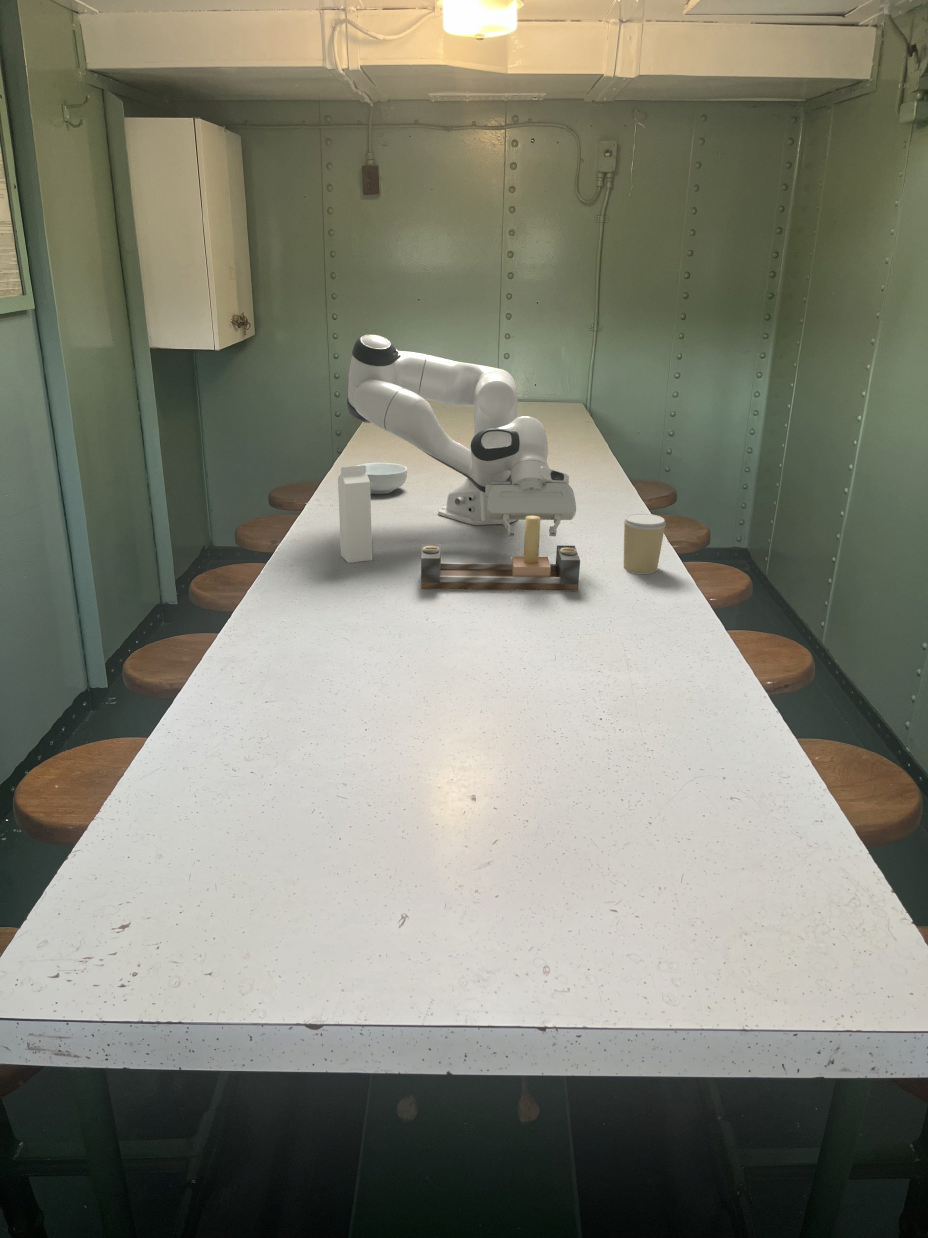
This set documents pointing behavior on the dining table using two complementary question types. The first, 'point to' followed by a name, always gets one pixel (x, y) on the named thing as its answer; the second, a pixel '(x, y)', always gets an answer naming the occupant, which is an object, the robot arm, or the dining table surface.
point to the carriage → (531, 553)
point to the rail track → (497, 573)
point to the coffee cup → (642, 542)
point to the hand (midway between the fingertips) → (532, 534)
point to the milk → (355, 514)
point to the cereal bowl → (385, 477)
